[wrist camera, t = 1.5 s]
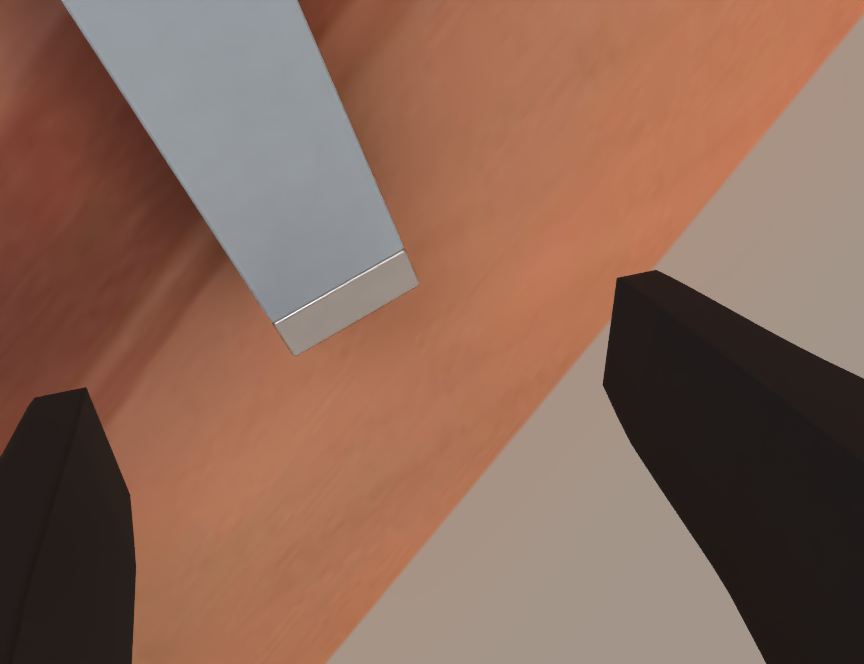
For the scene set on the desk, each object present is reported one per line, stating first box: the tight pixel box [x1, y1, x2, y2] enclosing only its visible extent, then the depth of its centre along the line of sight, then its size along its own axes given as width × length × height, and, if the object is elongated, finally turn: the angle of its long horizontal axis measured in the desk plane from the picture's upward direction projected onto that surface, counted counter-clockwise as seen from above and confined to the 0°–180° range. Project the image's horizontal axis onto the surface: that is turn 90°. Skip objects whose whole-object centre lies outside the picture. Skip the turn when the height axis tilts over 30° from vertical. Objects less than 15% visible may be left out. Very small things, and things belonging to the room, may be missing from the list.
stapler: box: [61, 0, 419, 356], centre depth 16 cm, size 14×4×4 cm, turn 18°
